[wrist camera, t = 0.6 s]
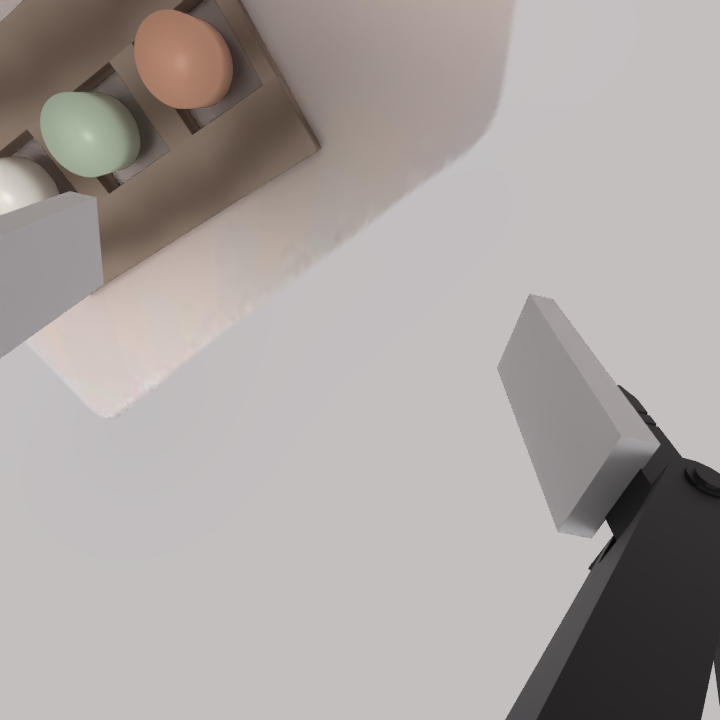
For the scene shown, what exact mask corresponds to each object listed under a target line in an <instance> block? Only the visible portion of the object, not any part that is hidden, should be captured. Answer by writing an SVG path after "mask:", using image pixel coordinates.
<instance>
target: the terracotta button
mask: <svg viewBox="0 0 720 720" xmlns="http://www.w3.org/2000/svg"><path fill="white" fill-rule="evenodd" d="M134 57H135V63H136V67H137V70H138V72H139V75H140V77H141V79H142V81H143V83H144V84H145V86H146V87H147V88H148V90H149V91H150V92H151V93H152V94H153V95H154V96H155V97H156V98H157V99H158V100H160V101H161V102H163V103H164V104H166V105H168V106H171V107H174V108H178V109H191V108H202V107H209V106H212V105H215V104H216V103H218V102H219V101H221V100H222V99H223V98H224V97H225V95H226V94H227V92H228V90H229V88H230V86H231V83H232V78H233V62H232V57H231V53H230V51H229V48H228V46H227V44H226V42H225V40H224V39H223V37H222V36H221V34H220V33H219V32H218V31H217V30H216V29H215V28H214V27H213V26H212V25H210V24H209V23H207V22H205V21H204V20H201V19H199V18H196V17H193V16H191V15H188V14H185V13H182V12H180V11H176V10H169V9H166V10H159V11H156V12H154V13H152V14H150V15H149V16H148V17H147V18H146V19H145V20H144V21H143V22H142V23H141V25H140V27H139V29H138V31H137V34H136V37H135V42H134Z"/></svg>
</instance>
